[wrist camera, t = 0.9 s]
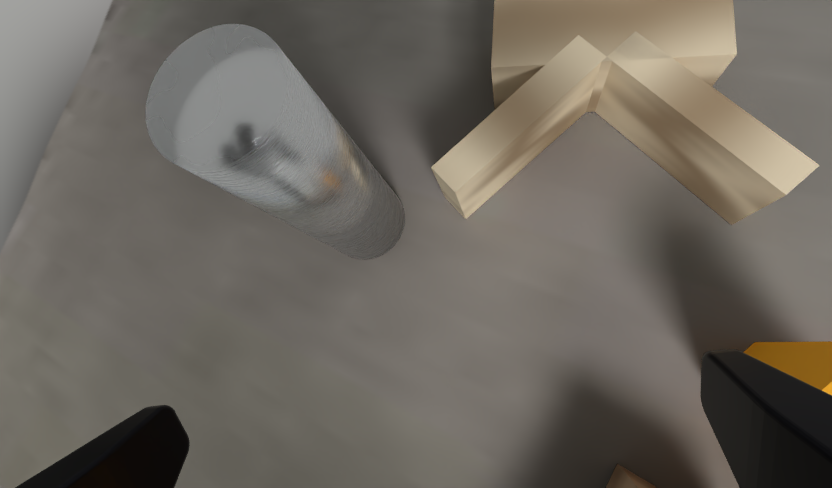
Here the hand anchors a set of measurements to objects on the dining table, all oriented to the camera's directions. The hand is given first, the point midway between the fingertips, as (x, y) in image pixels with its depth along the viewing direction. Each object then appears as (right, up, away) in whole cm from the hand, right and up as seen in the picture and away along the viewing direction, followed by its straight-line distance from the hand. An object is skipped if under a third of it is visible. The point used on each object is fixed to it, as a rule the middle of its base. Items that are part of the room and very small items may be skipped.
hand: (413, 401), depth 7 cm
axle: (-2, +4, +15) cm, 16 cm away
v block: (+8, +8, +14) cm, 18 cm away
